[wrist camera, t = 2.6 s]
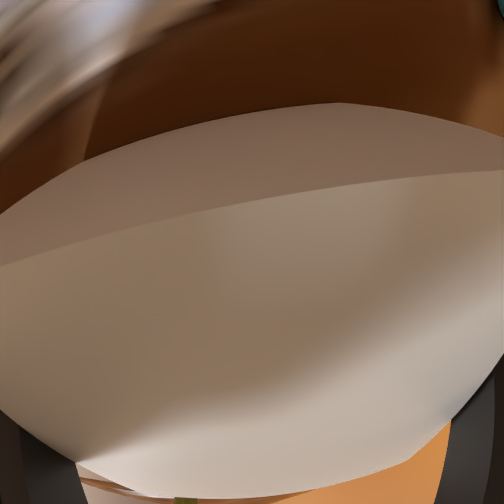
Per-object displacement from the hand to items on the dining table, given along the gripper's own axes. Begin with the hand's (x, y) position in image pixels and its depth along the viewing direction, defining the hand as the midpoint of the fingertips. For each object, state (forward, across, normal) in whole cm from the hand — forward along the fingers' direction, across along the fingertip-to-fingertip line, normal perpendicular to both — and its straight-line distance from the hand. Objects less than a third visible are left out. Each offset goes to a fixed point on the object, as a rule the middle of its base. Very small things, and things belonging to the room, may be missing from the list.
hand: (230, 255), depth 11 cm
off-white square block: (+1, 0, 0) cm, 1 cm away
